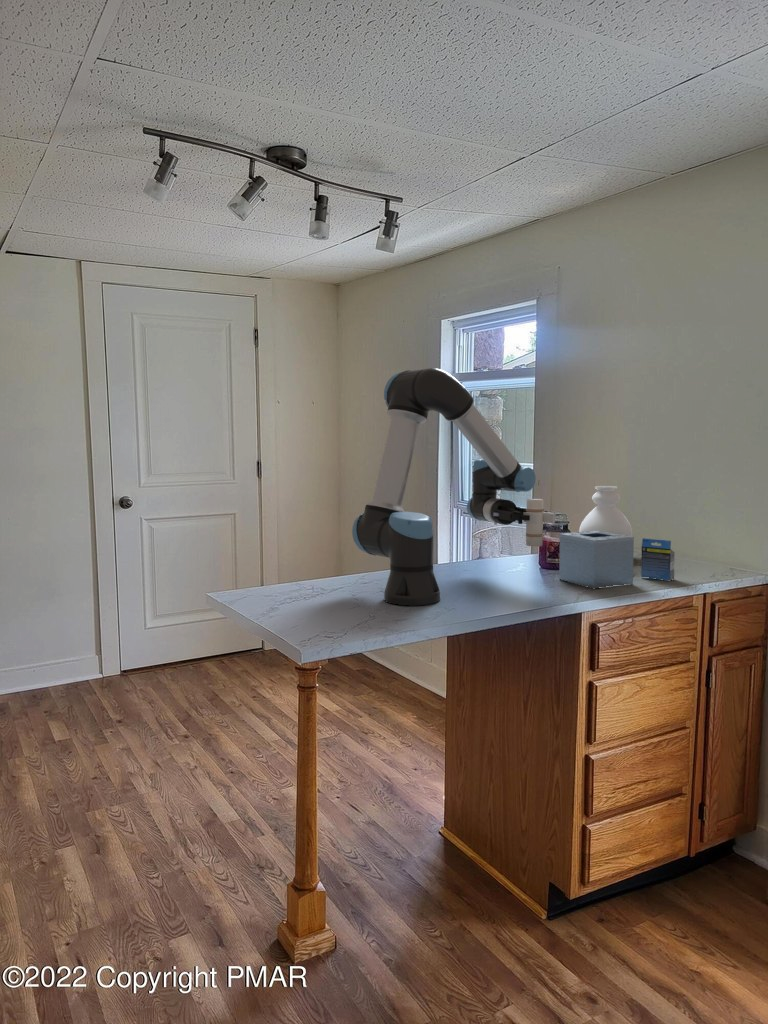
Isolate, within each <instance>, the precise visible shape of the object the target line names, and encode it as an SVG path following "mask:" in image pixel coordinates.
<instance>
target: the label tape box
mask: <svg viewBox="0 0 768 1024" xmlns="http://www.w3.org/2000/svg"><path fill="white" fill-rule="evenodd" d="M641 540H642V541H641V564H640V565H641V566H640V567H641V568H640V569H641V571H640V573H641V574H640V576H641V577H649V578H656V579H663V580H670V581H669V582H672V581H673V580H672V579H674V580H675V555H676V554H675V551H673V550H672V549H671V546H672V541H671V540H665V539H656V538H655V539H654V538H645V537H644V538H641ZM656 543H657V544H660V545H656ZM663 580H662V581H663ZM671 580H672V581H671Z"/></svg>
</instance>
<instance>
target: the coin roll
mask: <svg viewBox="0 0 768 1024" xmlns="http://www.w3.org/2000/svg"><path fill="white" fill-rule="evenodd" d="M525 508H526V512H528V513H534V514H539V524H533V523H527V522H525V523H526V525H525V527H526V529H525V546H526V547H542V546H543V542H544V541H543V538H544V533H543V531H544V530H543V529H544V527H543V526H544V522H543V509H544V499H542V498H526V507H525Z"/></svg>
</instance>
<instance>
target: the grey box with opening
mask: <svg viewBox="0 0 768 1024" xmlns="http://www.w3.org/2000/svg"><path fill="white" fill-rule="evenodd" d="M634 540H635V537H634V536H633V535H632V536H626V535H621V534H615V533H609V532H604V531H598V530H596V531H585V532H579V531H576V532H575V531H574V532H564V533H563V532H562V533H559V559H558V561H559V564H558V565H559V573H558V575H559V576H558V577H559V578H558V579H559V580H560V579H561V580H560V581H563V580H564V582H566V581H568V582H567V583H570V582H572V583H571V584H573V583H576V584H575V585H577V584H580V585H583V586H582V587H584V586H588V587H591V588H599V587H606V586H613V585H624V584H633V585H634V549H635V548H634V542H635V541H634ZM580 585H579V586H580Z"/></svg>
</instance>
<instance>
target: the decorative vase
mask: <svg viewBox="0 0 768 1024" xmlns="http://www.w3.org/2000/svg"><path fill="white" fill-rule="evenodd" d="M594 489H595V490H597V491H596V492H595V493H594V494H593V495H592V497H591V499H592V502H593V503H594V504H595V505H596V506H595V507H593V509H591V510H590V511H589V512H588V514H587V515H586V516H585V517H584V518H583V520H582V521H581V523H580V526H579V530H578V532H585V531H596V530H598V531H604V532H609V533H615V534H621V535H626V536H632V537H633V527H632V525H631V522H630V521H629V520H628V518H627V517H626V516H625V514H624V513H623V512H622V511H621V510H620V509H619V508H618V507H617V506H616V505H617V504H618V503H619V502H620V501H621V495H620V494H619V493H618V492H616V491H615V490H617V489H618V486H616V485H596V486H594Z"/></svg>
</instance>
